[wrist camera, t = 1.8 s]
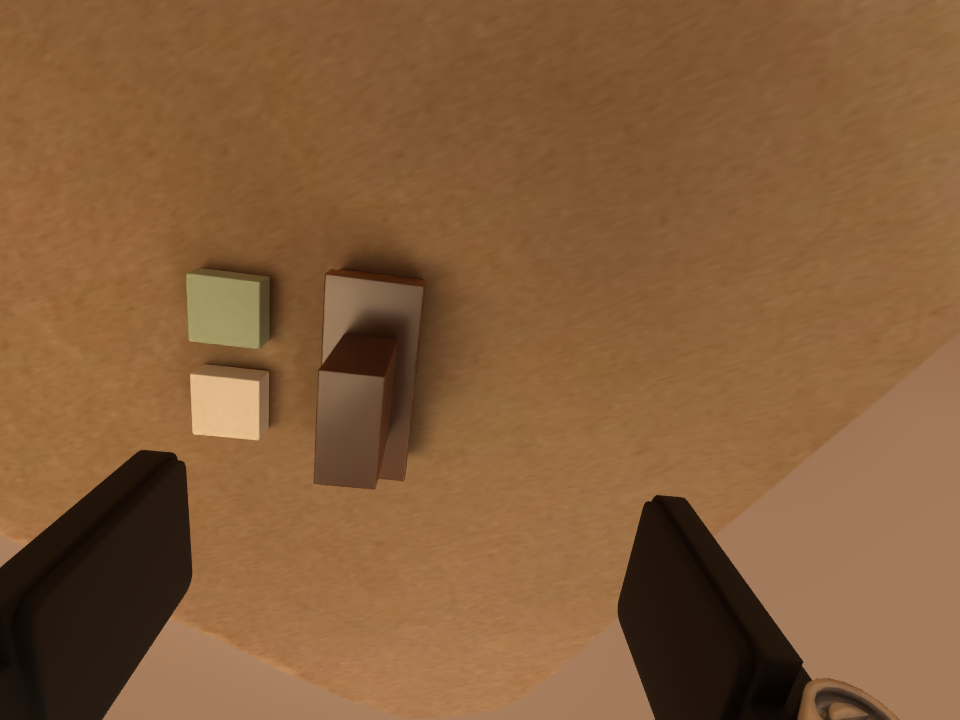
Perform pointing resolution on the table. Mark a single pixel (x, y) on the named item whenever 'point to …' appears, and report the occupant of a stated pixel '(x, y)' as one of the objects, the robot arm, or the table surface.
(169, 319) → the table surface
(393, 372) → the brown inverted t block
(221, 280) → the chip
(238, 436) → the chip
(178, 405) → the table surface
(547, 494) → the table surface
